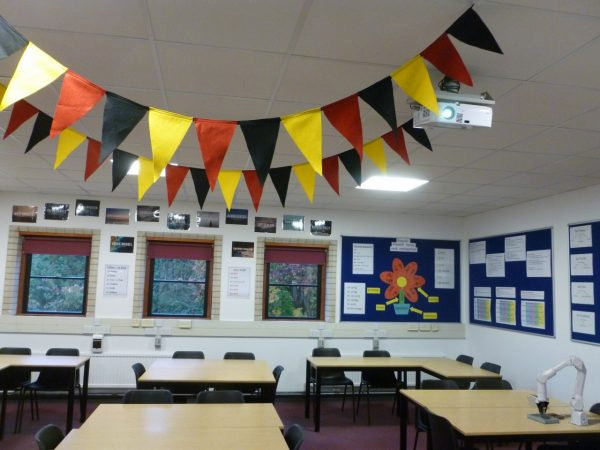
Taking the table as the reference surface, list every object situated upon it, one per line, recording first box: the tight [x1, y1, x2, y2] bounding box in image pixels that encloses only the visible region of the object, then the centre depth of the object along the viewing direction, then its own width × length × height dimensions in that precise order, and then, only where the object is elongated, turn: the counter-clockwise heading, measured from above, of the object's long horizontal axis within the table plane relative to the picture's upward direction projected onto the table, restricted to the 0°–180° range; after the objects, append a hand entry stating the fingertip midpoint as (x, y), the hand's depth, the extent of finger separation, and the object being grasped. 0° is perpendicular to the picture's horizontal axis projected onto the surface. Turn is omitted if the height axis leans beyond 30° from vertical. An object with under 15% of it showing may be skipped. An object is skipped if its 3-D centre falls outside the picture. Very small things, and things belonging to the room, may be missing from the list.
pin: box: [541, 406, 546, 418], centre depth 331 cm, size 4×4×7 cm
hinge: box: [526, 393, 549, 410], centre depth 370 cm, size 17×5×10 cm, turn 10°
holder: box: [545, 412, 565, 421], centre depth 337 cm, size 9×9×2 cm
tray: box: [526, 412, 560, 425], centre depth 330 cm, size 16×12×2 cm
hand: (542, 412), depth 331 cm, fingers closed on pin, 4 cm apart
